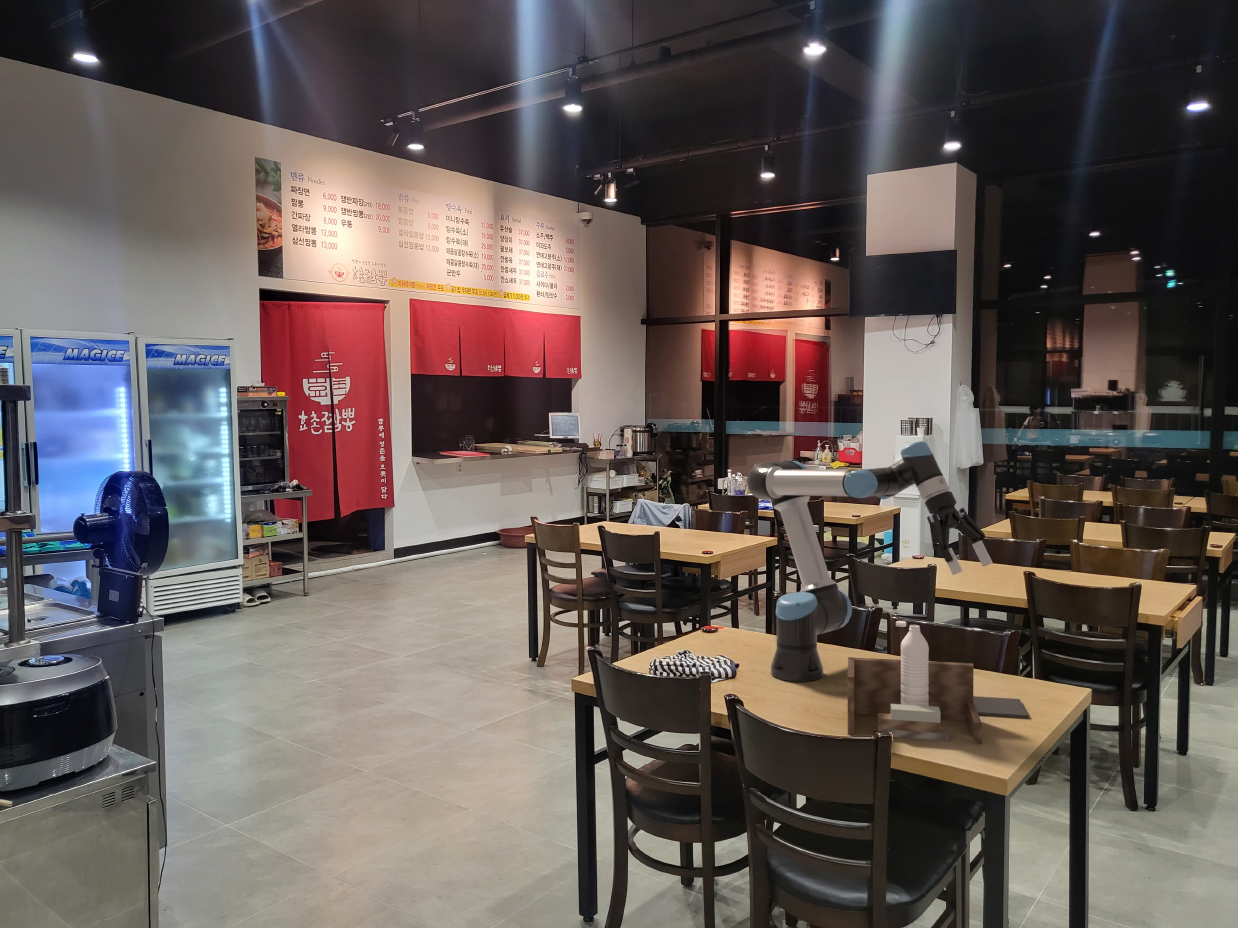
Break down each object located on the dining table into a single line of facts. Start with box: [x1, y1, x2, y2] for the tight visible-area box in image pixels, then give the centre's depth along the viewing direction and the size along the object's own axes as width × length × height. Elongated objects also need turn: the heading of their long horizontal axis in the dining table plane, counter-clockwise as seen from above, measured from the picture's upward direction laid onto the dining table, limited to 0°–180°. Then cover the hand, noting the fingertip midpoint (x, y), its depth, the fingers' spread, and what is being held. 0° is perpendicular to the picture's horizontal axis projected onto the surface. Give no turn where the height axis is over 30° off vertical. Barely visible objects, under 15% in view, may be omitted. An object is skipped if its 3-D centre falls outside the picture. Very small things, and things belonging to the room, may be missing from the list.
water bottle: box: [895, 620, 930, 706], centre depth 220 cm, size 9×6×25 cm
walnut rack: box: [847, 656, 983, 745], centre depth 219 cm, size 30×18×14 cm, turn 75°
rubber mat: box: [973, 695, 1030, 719], centre depth 231 cm, size 13×13×1 cm
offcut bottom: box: [877, 726, 950, 742], centre depth 214 cm, size 16×4×2 cm, turn 75°
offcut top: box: [891, 704, 941, 724], centre depth 213 cm, size 11×4×2 cm, turn 75°
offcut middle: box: [876, 713, 941, 733], centre depth 213 cm, size 14×4×2 cm, turn 76°
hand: (973, 569), depth 234 cm, fingers open, 13 cm apart
